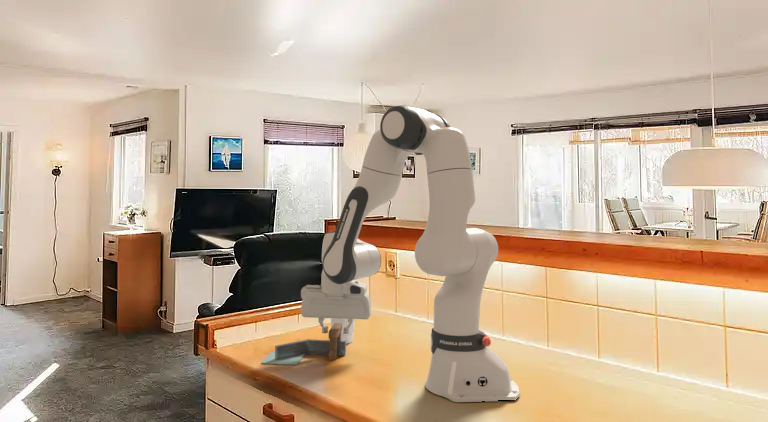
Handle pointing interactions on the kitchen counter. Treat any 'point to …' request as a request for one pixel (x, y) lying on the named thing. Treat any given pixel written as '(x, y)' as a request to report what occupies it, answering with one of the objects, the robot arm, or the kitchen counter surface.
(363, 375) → the kitchen counter surface
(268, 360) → the pad
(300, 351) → the rail
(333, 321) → the white cup
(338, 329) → the arch
